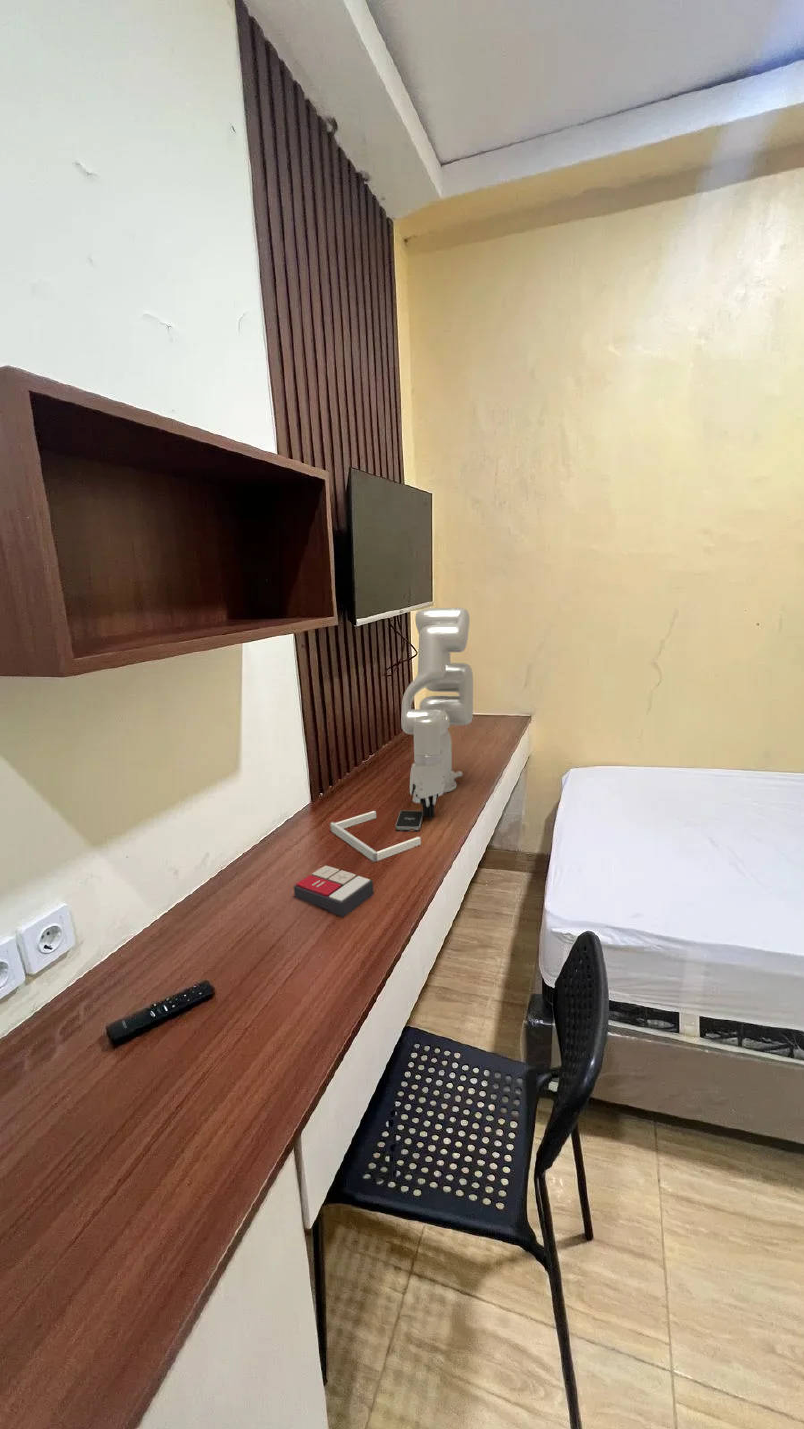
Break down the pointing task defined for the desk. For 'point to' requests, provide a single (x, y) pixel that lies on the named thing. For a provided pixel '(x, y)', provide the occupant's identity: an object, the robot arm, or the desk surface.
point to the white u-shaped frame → (363, 848)
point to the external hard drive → (409, 821)
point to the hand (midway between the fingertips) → (428, 816)
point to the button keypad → (334, 890)
